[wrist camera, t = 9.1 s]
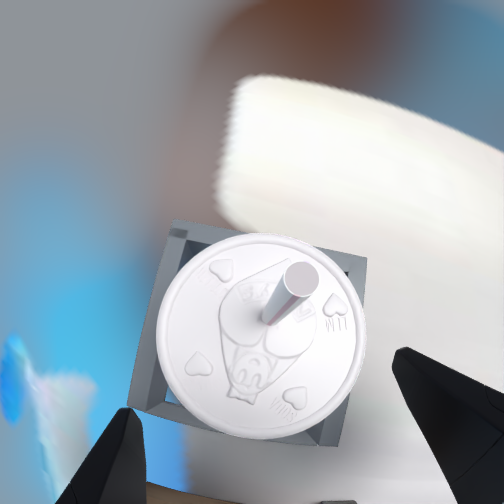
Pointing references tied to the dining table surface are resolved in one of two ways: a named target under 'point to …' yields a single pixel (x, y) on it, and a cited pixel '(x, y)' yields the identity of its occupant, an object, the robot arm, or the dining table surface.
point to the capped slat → (192, 497)
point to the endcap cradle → (147, 362)
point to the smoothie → (261, 336)
